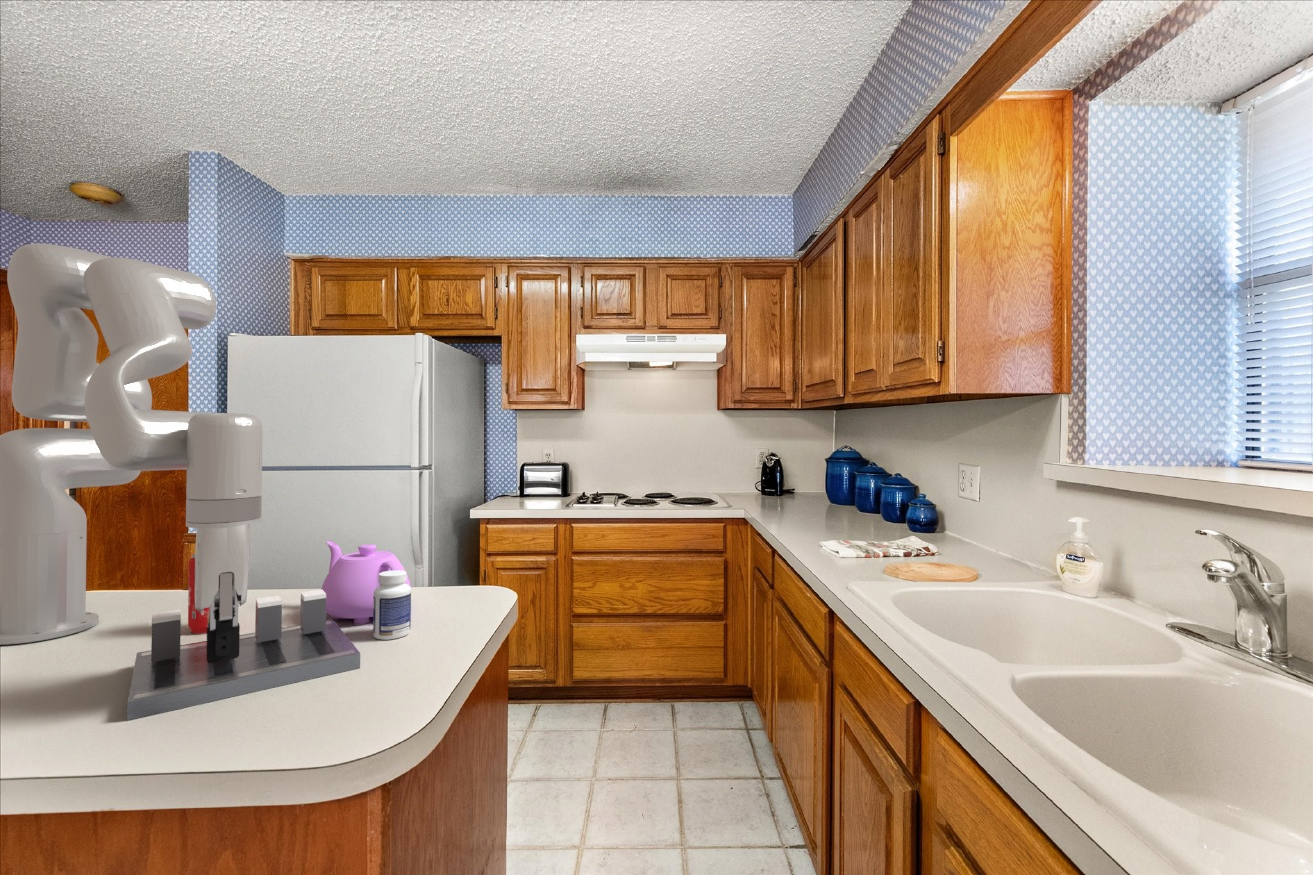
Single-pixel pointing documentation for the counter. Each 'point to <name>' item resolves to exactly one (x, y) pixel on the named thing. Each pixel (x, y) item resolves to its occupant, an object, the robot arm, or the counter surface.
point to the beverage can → (195, 617)
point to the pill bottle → (392, 606)
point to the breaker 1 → (166, 635)
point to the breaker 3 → (313, 611)
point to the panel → (237, 669)
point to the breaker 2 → (268, 619)
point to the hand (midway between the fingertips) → (222, 658)
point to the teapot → (356, 581)
